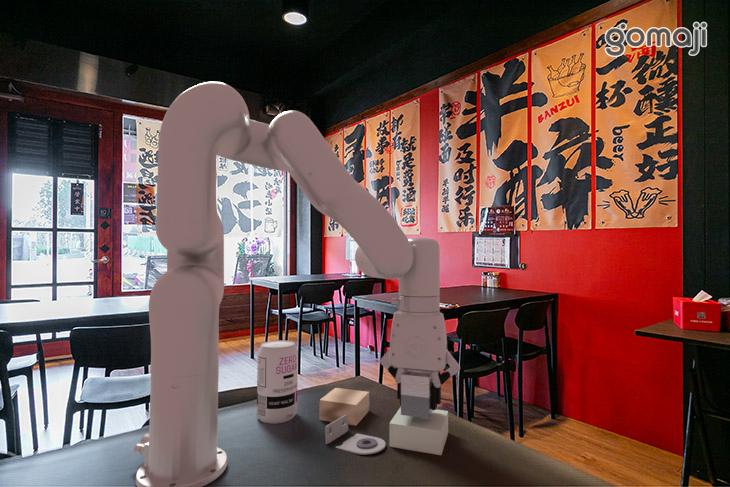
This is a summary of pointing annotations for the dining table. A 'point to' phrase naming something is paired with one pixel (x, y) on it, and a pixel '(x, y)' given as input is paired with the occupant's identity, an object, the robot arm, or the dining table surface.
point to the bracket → (353, 439)
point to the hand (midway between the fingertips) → (418, 404)
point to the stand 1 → (344, 405)
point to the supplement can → (277, 381)
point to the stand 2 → (419, 432)
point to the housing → (416, 393)
